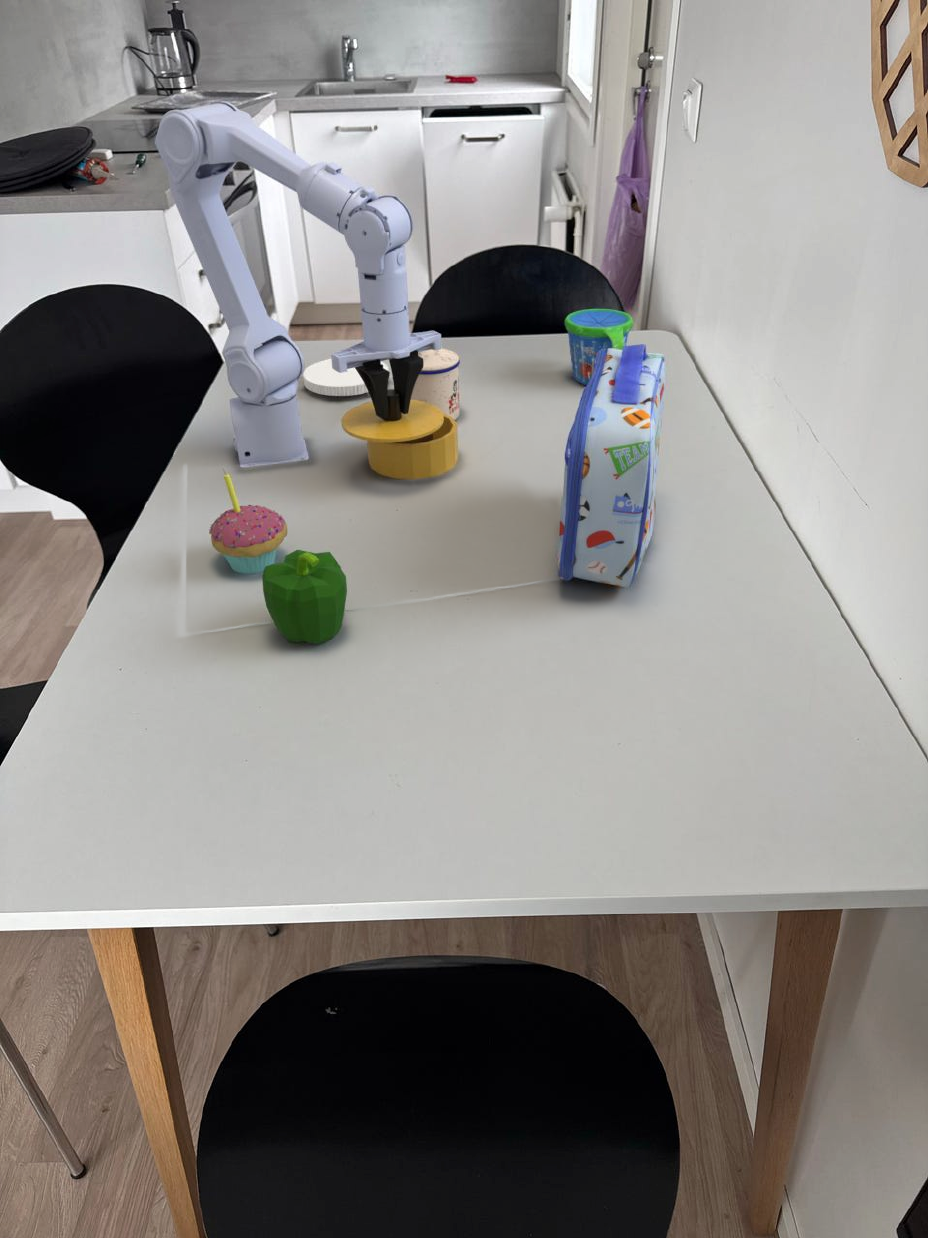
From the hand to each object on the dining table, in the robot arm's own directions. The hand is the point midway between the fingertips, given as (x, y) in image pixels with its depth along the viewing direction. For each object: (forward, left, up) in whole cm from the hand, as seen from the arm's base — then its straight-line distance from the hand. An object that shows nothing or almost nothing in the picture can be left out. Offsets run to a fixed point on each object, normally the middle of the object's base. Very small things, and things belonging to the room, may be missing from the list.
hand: (392, 414), depth 122 cm
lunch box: (+21, -23, -10) cm, 33 cm away
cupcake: (-20, -17, -10) cm, 28 cm away
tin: (+3, +5, -9) cm, 11 cm away
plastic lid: (-2, +37, -10) cm, 38 cm away
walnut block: (+3, +5, -9) cm, 11 cm away
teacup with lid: (+9, +22, -10) cm, 25 cm away
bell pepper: (-15, -32, -10) cm, 37 cm away
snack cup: (+38, +28, -10) cm, 48 cm away
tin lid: (0, 0, -1) cm, 1 cm away
